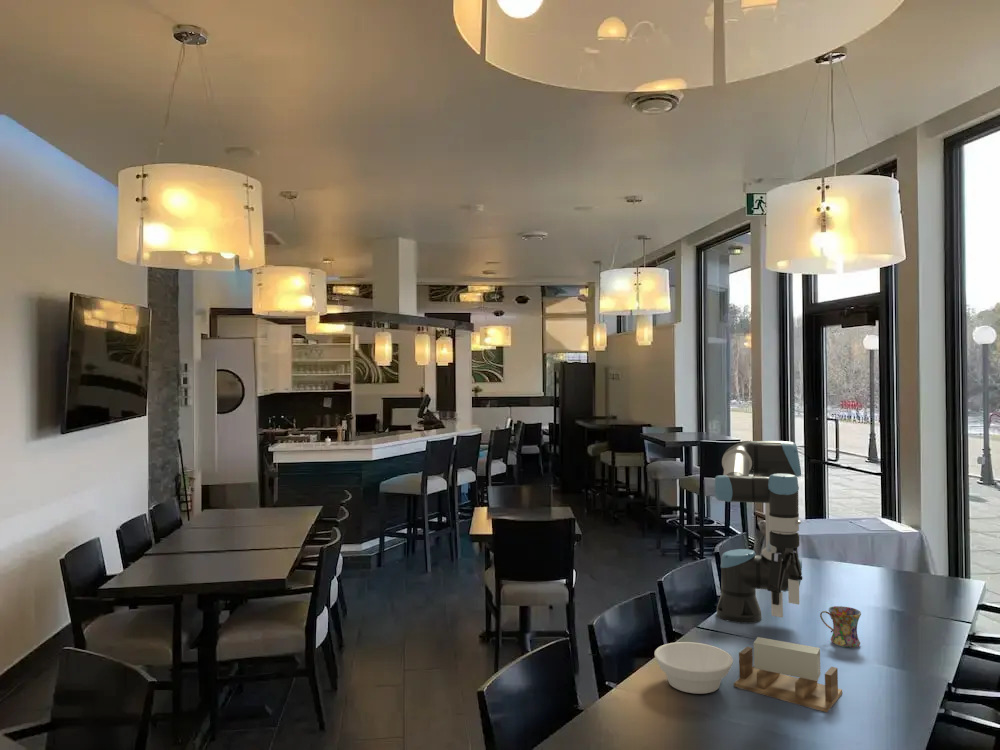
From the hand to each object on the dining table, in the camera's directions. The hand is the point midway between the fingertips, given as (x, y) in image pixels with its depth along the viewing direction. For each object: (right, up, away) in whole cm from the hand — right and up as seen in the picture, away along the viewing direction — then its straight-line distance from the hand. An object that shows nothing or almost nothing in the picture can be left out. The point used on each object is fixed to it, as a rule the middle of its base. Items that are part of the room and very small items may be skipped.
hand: (785, 609), depth 187 cm
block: (0, -17, 0) cm, 17 cm away
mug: (+31, -22, +32) cm, 50 cm away
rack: (0, -22, 0) cm, 22 cm away
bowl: (-24, -22, +3) cm, 33 cm away
